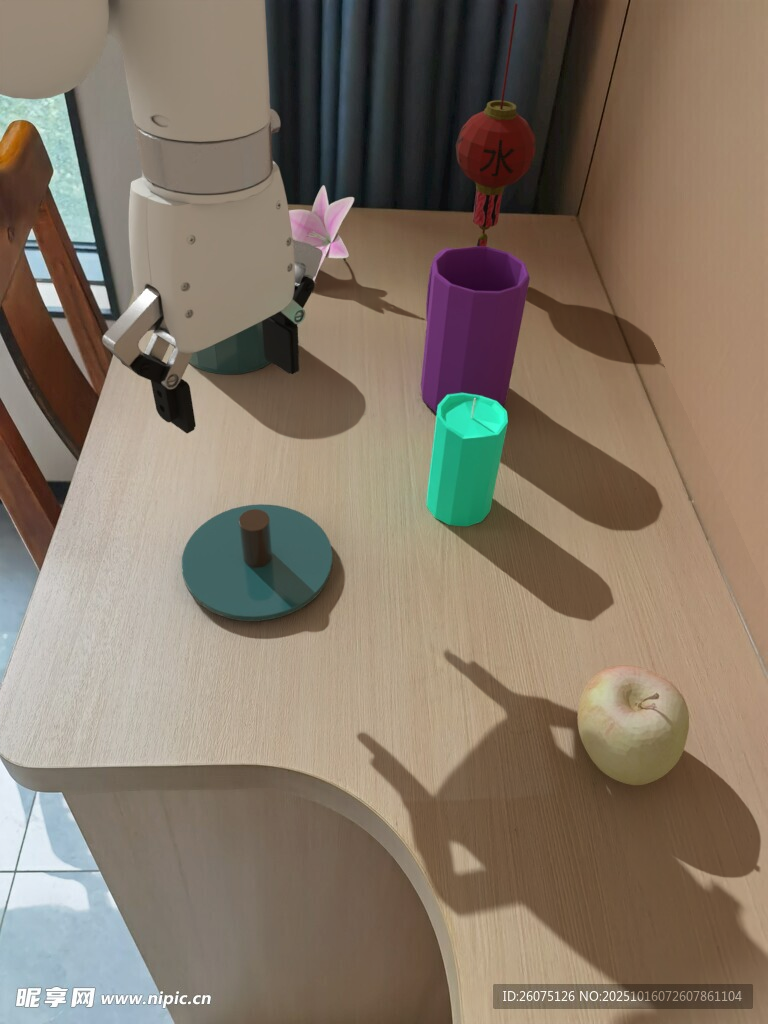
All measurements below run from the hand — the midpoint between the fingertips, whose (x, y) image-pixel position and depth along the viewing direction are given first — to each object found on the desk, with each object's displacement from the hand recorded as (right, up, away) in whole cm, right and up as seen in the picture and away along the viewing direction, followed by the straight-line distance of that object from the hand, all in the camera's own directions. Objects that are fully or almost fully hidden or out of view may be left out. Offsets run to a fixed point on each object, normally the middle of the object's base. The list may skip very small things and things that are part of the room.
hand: (232, 393), depth 58 cm
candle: (+18, -8, +16) cm, 25 cm away
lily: (+3, +22, +45) cm, 50 cm away
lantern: (+23, +23, +47) cm, 58 cm away
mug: (+18, +6, +29) cm, 35 cm away
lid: (0, -13, +9) cm, 16 cm away
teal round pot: (-6, +10, +32) cm, 34 cm away
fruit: (+28, -26, -1) cm, 38 cm away
